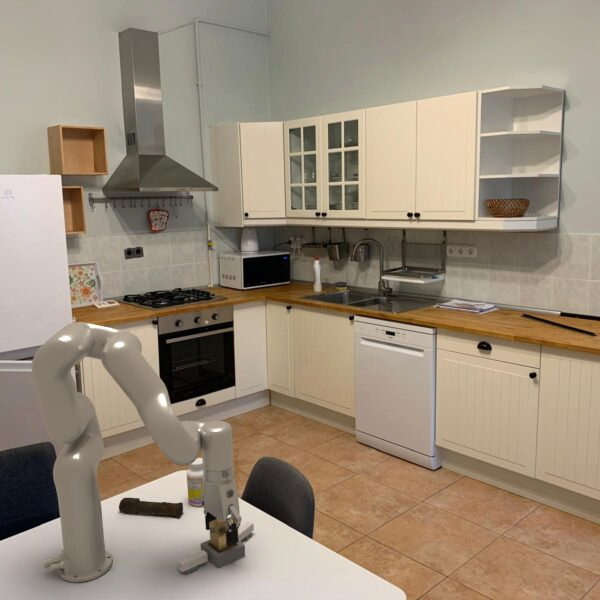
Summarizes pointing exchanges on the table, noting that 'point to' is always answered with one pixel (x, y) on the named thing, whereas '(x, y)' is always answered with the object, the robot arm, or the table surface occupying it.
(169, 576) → the table surface
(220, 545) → the tan wooden block
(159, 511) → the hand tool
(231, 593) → the table surface
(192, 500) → the supplement bottle
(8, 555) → the table surface
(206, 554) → the socket
